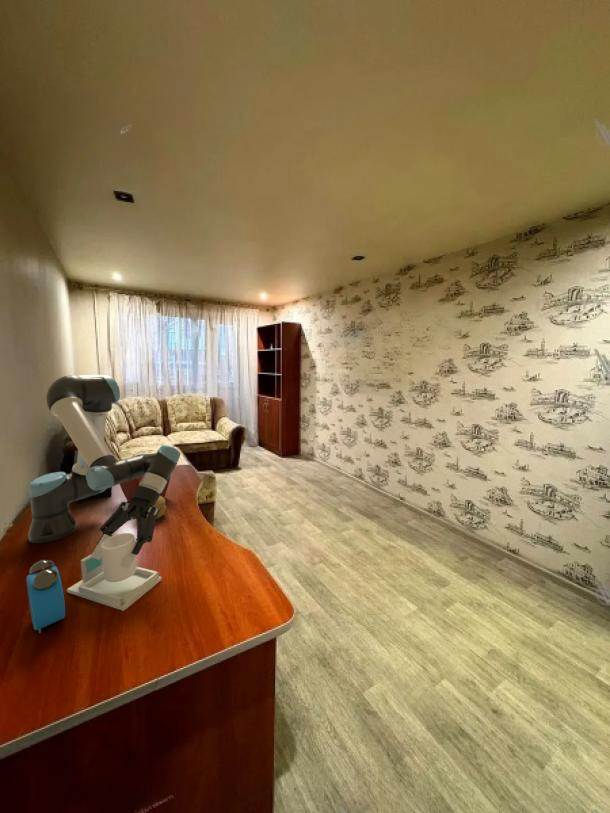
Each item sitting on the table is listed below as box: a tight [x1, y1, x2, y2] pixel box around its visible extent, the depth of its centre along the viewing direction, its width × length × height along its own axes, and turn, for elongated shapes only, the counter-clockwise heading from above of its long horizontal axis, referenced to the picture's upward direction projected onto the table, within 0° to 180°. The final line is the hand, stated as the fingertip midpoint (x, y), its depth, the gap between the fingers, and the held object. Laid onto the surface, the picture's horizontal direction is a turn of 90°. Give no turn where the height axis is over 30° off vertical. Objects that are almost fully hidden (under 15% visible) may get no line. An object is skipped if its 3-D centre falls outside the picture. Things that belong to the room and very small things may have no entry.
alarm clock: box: [26, 559, 66, 634], centre depth 80 cm, size 13×6×15 cm, turn 46°
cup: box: [101, 532, 138, 582], centre depth 92 cm, size 8×12×10 cm
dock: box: [66, 553, 163, 612], centre depth 94 cm, size 22×13×8 cm, turn 70°
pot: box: [147, 496, 167, 520], centre depth 137 cm, size 12×12×10 cm
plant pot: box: [119, 477, 171, 503], centre depth 157 cm, size 19×19×17 cm
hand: (109, 562), depth 89 cm, fingers closed on cup, 11 cm apart
